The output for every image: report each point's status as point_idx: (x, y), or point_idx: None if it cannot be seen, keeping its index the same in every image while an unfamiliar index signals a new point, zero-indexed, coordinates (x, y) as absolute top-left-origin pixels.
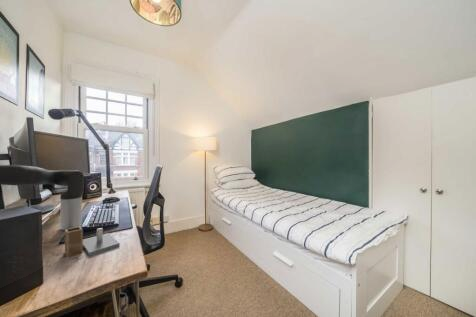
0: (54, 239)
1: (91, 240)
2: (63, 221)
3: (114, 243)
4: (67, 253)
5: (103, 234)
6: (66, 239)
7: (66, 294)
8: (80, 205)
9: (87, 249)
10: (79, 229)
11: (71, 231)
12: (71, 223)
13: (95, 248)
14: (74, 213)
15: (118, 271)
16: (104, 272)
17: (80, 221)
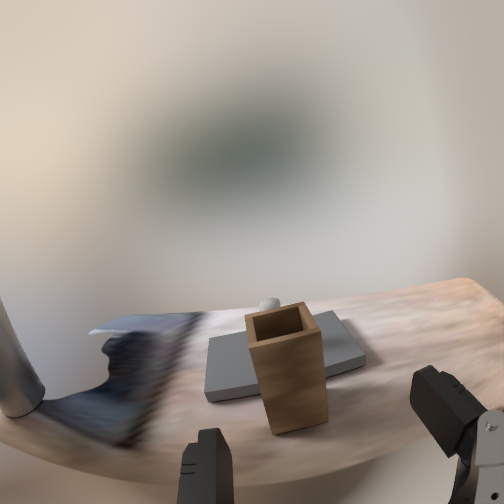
0: (68, 450)
1: (241, 366)
2: (4, 387)
3: (327, 318)
4: (327, 409)
5: (211, 345)
6: (312, 367)
7: None
8: (6, 314)
9: (331, 363)
10: (299, 308)
11: (310, 322)
12: (27, 384)
13: (337, 347)
14: (13, 346)
15: (468, 299)
16: (468, 315)
17: (34, 370)
